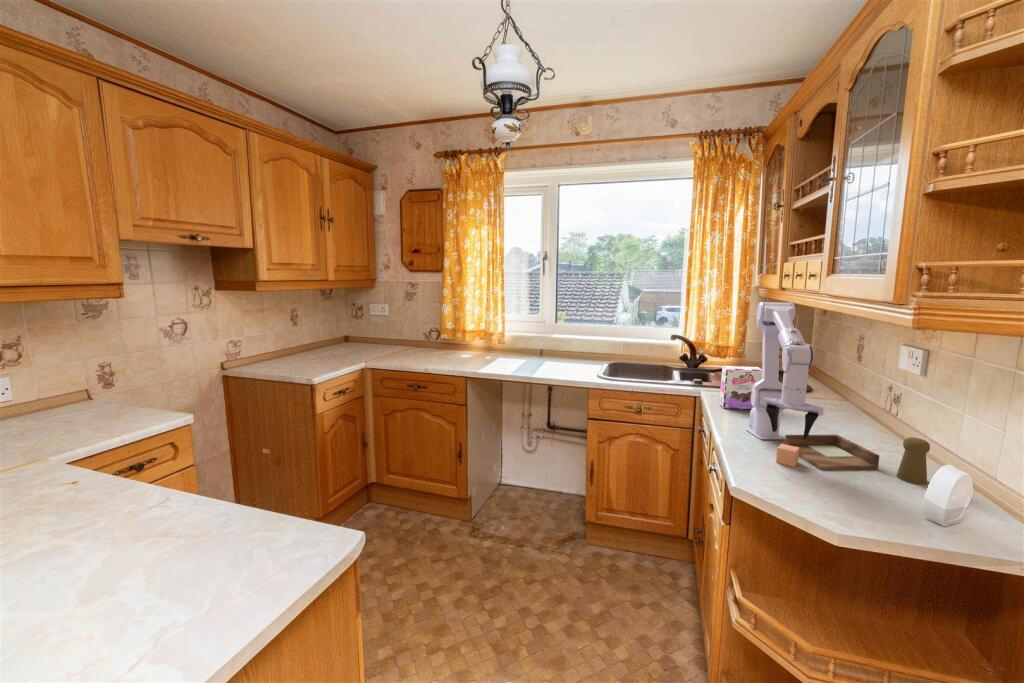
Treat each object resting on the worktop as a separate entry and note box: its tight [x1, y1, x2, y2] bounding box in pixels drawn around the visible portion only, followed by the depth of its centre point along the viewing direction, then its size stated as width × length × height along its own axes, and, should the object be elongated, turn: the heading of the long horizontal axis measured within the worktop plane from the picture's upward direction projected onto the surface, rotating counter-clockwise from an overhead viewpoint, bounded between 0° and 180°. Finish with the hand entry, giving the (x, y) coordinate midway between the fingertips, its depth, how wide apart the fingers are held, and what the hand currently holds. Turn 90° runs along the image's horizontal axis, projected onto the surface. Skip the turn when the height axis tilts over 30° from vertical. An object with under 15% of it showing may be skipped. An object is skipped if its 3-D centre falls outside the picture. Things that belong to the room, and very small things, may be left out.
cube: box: [775, 443, 800, 468], centre depth 128 cm, size 4×4×4 cm
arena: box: [784, 434, 880, 471], centre depth 131 cm, size 16×16×4 cm
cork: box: [896, 436, 931, 485], centre depth 117 cm, size 6×6×11 cm
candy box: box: [718, 365, 763, 410], centre depth 179 cm, size 14×6×16 cm, turn 80°
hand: (789, 434), depth 127 cm, fingers open, 7 cm apart
